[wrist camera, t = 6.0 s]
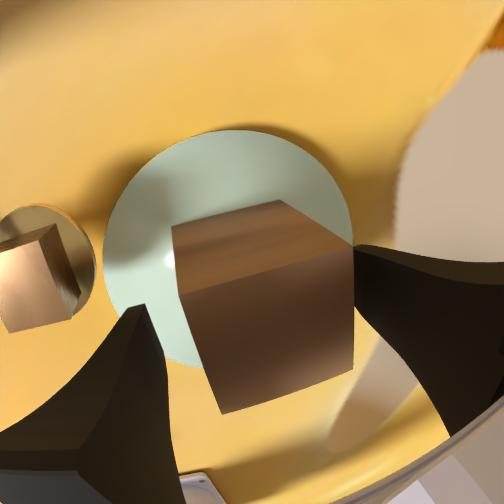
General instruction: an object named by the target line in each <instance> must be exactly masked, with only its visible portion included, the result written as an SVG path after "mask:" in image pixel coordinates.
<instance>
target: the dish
mask: <svg viewBox="0 0 504 504" xmlns="http://www.w3.org/2000/svg"><path fill="white" fill-rule="evenodd" d="M279 199H280V200H282V201H283V202H285V203H287V204H288V205H290V206H291V207H293V208H295V209H296V210H298V211H299V212H301V213H303V214H304V215H306V216H307V217H309V218H311V219H312V220H314V221H315V222H317V223H319V224H320V225H322V226H323V227H325V228H326V229H328V230H329V231H331V232H333V233H334V234H336V235H337V236H339V237H340V238H342V239H343V240H345V241H346V242H348V243H349V244H351V245H352V246H353V233H352V224H351V218H350V214H349V210H348V206H347V204H346V201H345V199H344V196H343V194H342V192H341V190H340V188H339V187H338V185H337V183H336V181H335V180H334V178H333V177H332V176H331V175H330V173H329V172H328V171H327V170H326V168H325V167H324V166H323V165H322V164H321V163H320V162H319V161H318V160H316V159H315V158H314V157H313V156H312V155H311V154H309V153H308V152H306V151H305V150H303V149H302V148H301V147H299V146H297V145H295V144H293V143H291V142H289V141H287V140H285V139H282V138H279V137H276V136H273V135H270V134H267V133H261V132H255V131H249V130H223V131H215V132H208V133H204V134H200V135H197V136H193V137H190V138H187V139H185V140H183V141H180V142H178V143H176V144H174V145H172V146H170V147H168V148H167V149H165V150H164V151H162V152H160V153H159V154H157V155H156V156H155V157H154V158H152V159H151V160H150V161H149V162H148V163H146V164H145V165H144V166H143V167H142V168H141V169H140V170H139V171H138V173H137V174H136V175H135V176H134V177H133V178H132V179H131V181H130V182H129V183H128V185H127V186H126V188H125V190H124V191H123V193H122V194H121V196H120V197H119V199H118V201H117V203H116V205H115V207H114V209H113V211H112V213H111V216H110V219H109V222H108V225H107V229H106V232H105V237H104V245H103V272H104V278H105V284H106V288H107V291H108V294H109V297H110V300H111V302H112V304H113V306H114V308H115V310H116V312H117V314H118V315H119V317H121V316H122V314H123V313H124V312H125V310H126V309H127V308H128V307H132V306H136V305H140V304H144V303H145V304H146V307H147V310H148V313H149V315H150V318H151V320H152V323H153V326H154V328H155V331H156V333H157V336H158V338H159V341H160V343H161V346H162V348H163V350H164V356H165V357H166V358H168V359H170V360H172V361H175V362H178V363H181V364H184V365H188V366H193V367H198V368H203V365H202V362H201V360H200V357H199V354H198V351H197V349H196V346H195V343H194V340H193V337H192V335H191V332H190V329H189V326H188V323H187V320H186V317H185V314H184V311H183V308H182V305H181V302H180V299H179V296H178V289H177V281H176V272H175V263H174V254H173V244H172V233H171V226H174V225H178V224H182V223H186V222H190V221H193V220H197V219H201V218H205V217H209V216H213V215H217V214H221V213H225V212H229V211H233V210H237V209H241V208H245V207H249V206H254V205H258V204H262V203H266V202H271V201H275V200H279Z"/></svg>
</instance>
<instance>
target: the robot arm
mask: <svg viewBox="0 0 504 504" xmlns="http://www.w3.org/2000/svg"><path fill="white" fill-rule="evenodd" d="M353 263H354V306H355V307H356V309H357V310H358V311H359V313H360V314H361V315H362V317H363V318H364V319H365V320H366V321H367V322H368V323H369V324H370V325H371V326H372V327H373V328H374V329H375V330H376V331H377V332H378V333H379V334H380V335H381V336H382V337H383V338H384V340H386V342H388V344H389V345H390V346H391V347H392V348H393V349H394V350H395V351H396V352H397V353H398V354H399V355H400V356H401V358H402V359H403V360H404V361H405V362H406V364H407V365H408V367H409V368H410V369H411V371H412V372H413V373H414V375H415V376H416V378H417V379H418V381H419V382H420V384H421V385H422V387H423V388H424V390H425V391H426V393H427V394H428V396H429V398H430V399H431V401H432V403H433V404H434V406H435V408H436V410H437V411H438V413H439V415H440V417H441V419H442V421H443V423H444V425H445V427H446V429H447V431H448V433H449V435H450V438H449V439H448V440H446V441H445V442H443V443H442V444H440V445H439V446H437V447H436V448H434V449H433V450H431V451H430V452H428V453H426V454H425V455H423V456H422V457H420V458H418V459H417V460H415V461H413V462H412V463H410V464H408V465H407V466H405V467H403V468H401V469H400V470H398V471H396V472H394V473H392V474H391V475H389V476H387V477H385V478H383V479H381V480H379V481H377V482H375V483H373V484H371V485H369V486H367V487H365V488H363V489H361V490H359V491H357V492H355V493H352V494H350V495H348V496H346V497H343V498H341V499H339V500H336V501H334V502H332V503H329V504H504V262H491V263H490V262H489V263H487V262H462V261H453V260H444V259H437V258H431V257H426V256H420V255H416V254H411V253H406V252H401V251H397V250H393V249H388V248H383V247H378V246H372V245H362V244H361V245H358V246H354V247H353ZM0 502H1V503H2V504H227V503H226V502H225V501H224V499H223V498H222V496H221V495H220V494H219V492H218V491H217V489H216V488H215V486H214V485H213V484H212V482H211V481H210V479H209V478H208V476H207V475H206V474H205V473H203V472H198V473H193V474H187V475H182V476H179V474H178V470H177V466H176V461H175V456H174V451H173V446H172V441H171V433H170V419H169V396H168V374H167V368H166V362H165V356H164V350H163V348H162V346H161V343H160V341H159V338H158V336H157V333H156V331H155V328H154V326H153V323H152V320H151V318H150V315H149V313H148V310H147V307H146V304H145V303H144V304H140V305H136V306H132V307H128V308H127V309H126V310H125V312H124V313H123V314H122V316H121V317H120V318H119V320H118V321H117V323H116V324H115V326H114V327H113V328H112V330H111V331H110V333H109V334H108V335H107V337H106V338H105V340H104V341H103V342H102V344H101V345H100V346H99V347H98V349H97V350H96V351H95V353H94V354H93V355H92V356H91V358H90V359H89V360H88V361H87V363H86V364H85V365H84V366H83V367H82V368H81V369H80V371H79V372H78V373H77V374H76V375H75V376H74V377H73V378H72V379H71V380H70V381H69V382H68V383H67V384H66V385H65V386H64V387H62V388H61V389H60V390H59V391H58V392H57V393H56V394H54V395H53V396H52V397H51V398H50V399H49V400H48V401H46V402H45V403H44V404H43V405H41V406H40V407H39V408H37V409H36V410H35V411H33V412H32V413H31V414H29V415H28V416H26V417H25V418H23V419H22V420H20V421H19V422H17V423H15V424H14V425H12V426H10V427H9V428H7V429H5V430H3V431H2V432H0Z"/></svg>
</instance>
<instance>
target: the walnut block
mask: <svg viewBox="0 0 504 504" xmlns="http://www.w3.org/2000/svg"><path fill="white" fill-rule="evenodd" d="M171 233H172V244H173V254H174V263H175V272H176V281H177V289H178V296H179V299H180V302H181V305H182V308H183V311H184V314H185V317H186V320H187V323H188V326H189V329H190V332H191V335H192V337H193V340H194V343H195V346H196V349H197V351H198V354H199V357H200V360H201V362H202V365H203V368H204V370H205V373H206V376H207V378H208V381H209V384H210V386H211V389H212V391H213V394H214V396H215V399H216V401H217V404H218V406H219V409H220V411H221V414H222V415H223V414H227V413H230V412H234V411H237V410H241V409H244V408H247V407H251V406H254V405H257V404H260V403H264V402H267V401H270V400H273V399H276V398H279V397H282V396H285V395H288V394H291V393H293V392H296V391H299V390H302V389H304V388H307V387H310V386H313V385H315V384H318V383H320V382H323V381H326V380H328V379H331V378H333V377H336V376H338V375H340V374H343V373H345V372H348V371H350V370H352V369H353V356H354V263H353V246H352V245H351V244H349V243H348V242H346V241H345V240H343V239H342V238H340V237H339V236H337V235H336V234H334V233H333V232H331V231H329V230H328V229H326V228H325V227H323V226H322V225H320V224H319V223H317V222H315V221H314V220H312V219H311V218H309V217H307V216H306V215H304V214H303V213H301V212H299V211H298V210H296V209H295V208H293V207H291V206H290V205H288V204H287V203H285V202H283V201H282V200H280V199H279V200H275V201H271V202H266V203H262V204H258V205H254V206H249V207H245V208H241V209H237V210H233V211H229V212H225V213H221V214H217V215H213V216H209V217H205V218H201V219H197V220H193V221H190V222H186V223H182V224H178V225H174V226H171Z"/></svg>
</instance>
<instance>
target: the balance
mask: <svg viewBox="0 0 504 504" xmlns="http://www.w3.org/2000/svg"><path fill="white" fill-rule="evenodd" d="M95 279H96V259H95V254H94V250H93V247H92V245H91V242H90V240H89V238H88V236H87V234H86V233H85V231H84V230H83V229H82V227H81V226H80V225H79V224H78V223H77V221H76V220H74V219H73V218H72V217H71V216H70V215H68V214H67V213H65V212H64V211H62V210H60V209H58V208H56V207H53V206H50V205H46V204H29V205H25V206H22V207H20V208H18V209H16V210H14V211H13V212H11V213H10V214H8V215H7V216H6V217H5V218H4V219H3V220H2V221H1V222H0V317H1V319H2V321H3V323H4V325H5V326H6V328H7V330H8V332H9V333H13V332H18V331H22V330H26V329H31V328H35V327H39V326H44V325H48V324H52V323H56V322H61V321H65V320H69V319H71V317H72V316H73V315H74V314H76V313H77V312H79V311H80V310H81V309H82V308H83V306H84V305H85V304H86V302H87V301H88V299H89V297H90V294H91V292H92V289H93V286H94V283H95Z"/></svg>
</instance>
